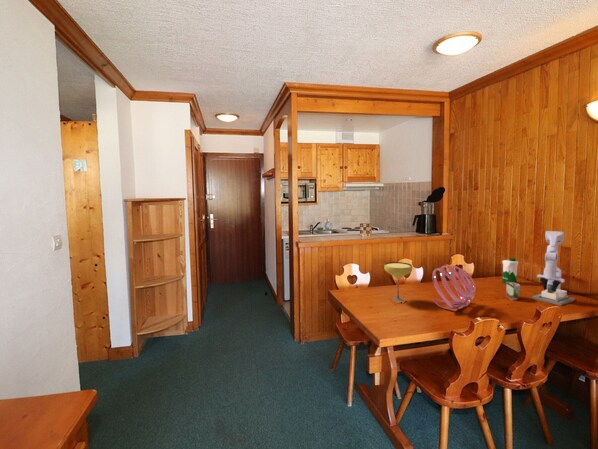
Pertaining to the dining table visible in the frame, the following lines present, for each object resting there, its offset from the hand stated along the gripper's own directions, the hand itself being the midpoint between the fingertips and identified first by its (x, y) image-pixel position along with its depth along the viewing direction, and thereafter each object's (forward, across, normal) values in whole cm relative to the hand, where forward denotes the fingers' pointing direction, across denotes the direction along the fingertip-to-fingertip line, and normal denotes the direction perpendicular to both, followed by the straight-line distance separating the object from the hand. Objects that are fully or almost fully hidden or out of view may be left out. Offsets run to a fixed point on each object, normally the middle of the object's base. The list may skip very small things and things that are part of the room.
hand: (549, 290), depth 204 cm
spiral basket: (+7, -24, -64) cm, 69 cm away
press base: (+7, 0, +5) cm, 9 cm away
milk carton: (+7, -36, +20) cm, 42 cm away
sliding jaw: (+5, 0, +1) cm, 5 cm away
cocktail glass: (+7, -51, -84) cm, 99 cm away
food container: (+7, -14, -14) cm, 21 cm away
